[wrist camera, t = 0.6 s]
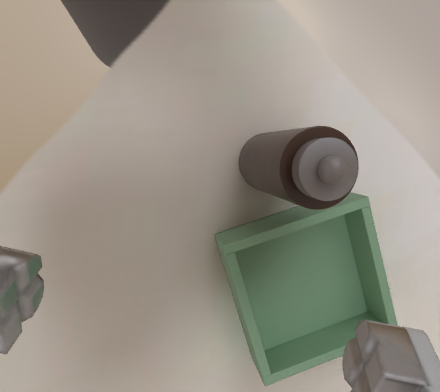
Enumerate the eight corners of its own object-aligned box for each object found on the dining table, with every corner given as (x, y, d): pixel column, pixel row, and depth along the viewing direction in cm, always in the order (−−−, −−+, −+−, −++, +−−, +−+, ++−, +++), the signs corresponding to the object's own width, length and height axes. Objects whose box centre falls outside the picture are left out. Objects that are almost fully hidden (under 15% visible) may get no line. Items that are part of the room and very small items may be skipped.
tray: (213, 234, 33) (222, 246, 29) (343, 190, 35) (368, 196, 31) (252, 359, 36) (265, 386, 32) (373, 313, 37) (399, 333, 33)
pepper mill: (231, 142, 33) (284, 138, 20) (285, 126, 33) (371, 111, 20) (247, 197, 33) (307, 229, 20) (299, 180, 34) (390, 200, 21)
